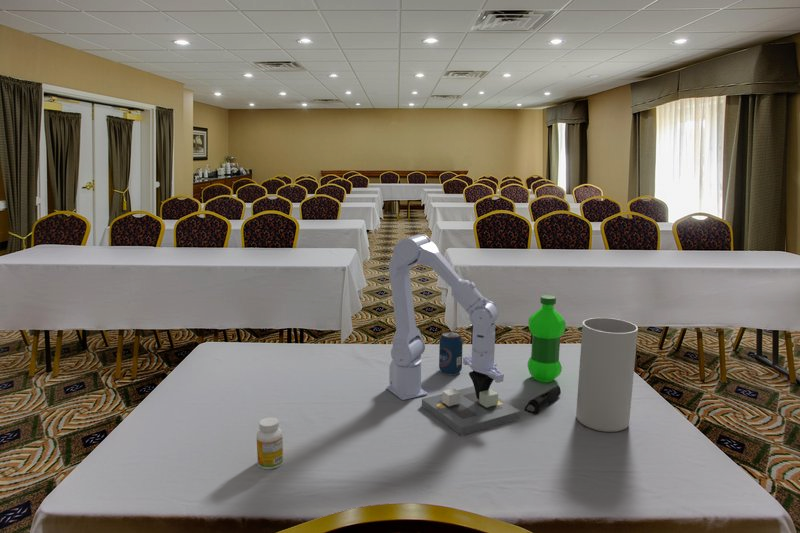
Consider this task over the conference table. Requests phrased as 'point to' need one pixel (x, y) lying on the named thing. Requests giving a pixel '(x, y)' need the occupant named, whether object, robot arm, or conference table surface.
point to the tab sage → (488, 398)
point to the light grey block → (451, 397)
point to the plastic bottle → (546, 341)
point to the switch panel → (470, 412)
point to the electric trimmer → (542, 400)
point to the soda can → (450, 352)
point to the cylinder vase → (606, 373)
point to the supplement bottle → (269, 444)
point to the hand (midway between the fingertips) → (481, 398)
